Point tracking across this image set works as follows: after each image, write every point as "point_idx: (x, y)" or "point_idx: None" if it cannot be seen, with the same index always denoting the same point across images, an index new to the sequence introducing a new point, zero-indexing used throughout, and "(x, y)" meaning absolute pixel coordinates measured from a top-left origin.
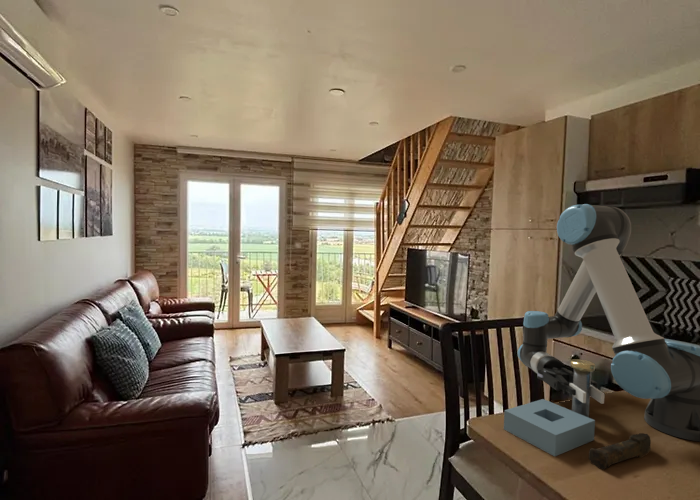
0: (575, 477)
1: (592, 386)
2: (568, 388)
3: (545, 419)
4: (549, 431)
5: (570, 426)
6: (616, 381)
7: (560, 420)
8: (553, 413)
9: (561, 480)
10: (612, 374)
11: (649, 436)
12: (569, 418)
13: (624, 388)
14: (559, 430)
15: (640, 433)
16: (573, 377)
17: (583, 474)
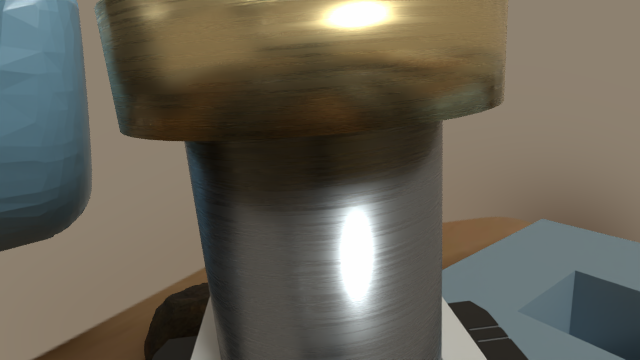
0: (479, 243)
1: (214, 335)
2: (506, 343)
3: (613, 279)
4: (568, 227)
5: (489, 259)
6: (84, 171)
7: (537, 283)
8: (594, 351)
9: (511, 233)
10: (68, 122)
11: (161, 305)
12: (491, 307)
13: (90, 193)
14: (533, 236)
15: (189, 301)
16: (441, 281)
17: (458, 252)
